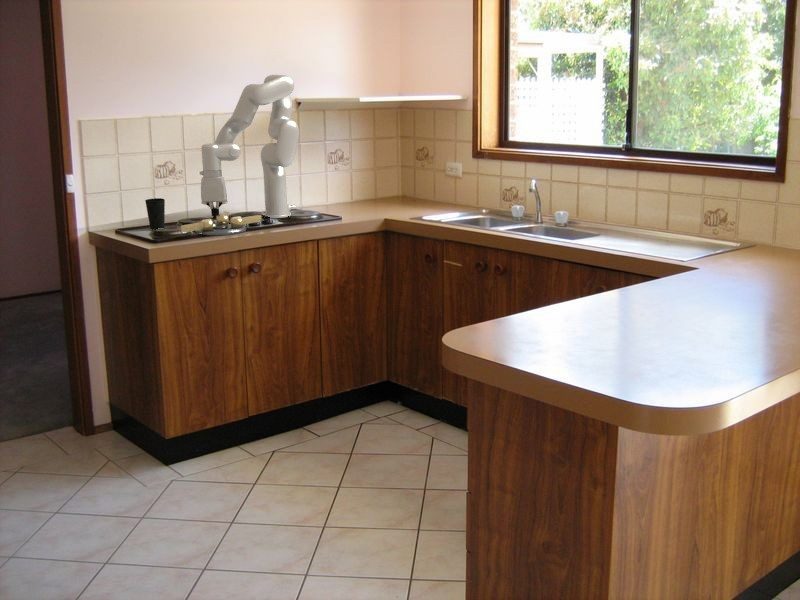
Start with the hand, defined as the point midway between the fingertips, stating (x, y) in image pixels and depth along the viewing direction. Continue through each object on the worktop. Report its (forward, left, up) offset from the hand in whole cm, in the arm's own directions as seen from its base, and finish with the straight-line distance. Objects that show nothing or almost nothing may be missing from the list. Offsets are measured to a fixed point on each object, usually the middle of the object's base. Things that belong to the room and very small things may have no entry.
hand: (215, 217), depth 378 cm
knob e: (+19, +14, -1) cm, 24 cm away
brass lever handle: (-1, +19, -1) cm, 19 cm away
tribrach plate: (+8, +14, -3) cm, 16 cm away
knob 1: (0, +6, -1) cm, 6 cm away
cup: (+22, -10, -3) cm, 24 cm away
